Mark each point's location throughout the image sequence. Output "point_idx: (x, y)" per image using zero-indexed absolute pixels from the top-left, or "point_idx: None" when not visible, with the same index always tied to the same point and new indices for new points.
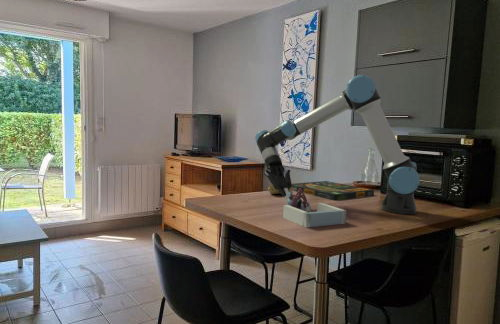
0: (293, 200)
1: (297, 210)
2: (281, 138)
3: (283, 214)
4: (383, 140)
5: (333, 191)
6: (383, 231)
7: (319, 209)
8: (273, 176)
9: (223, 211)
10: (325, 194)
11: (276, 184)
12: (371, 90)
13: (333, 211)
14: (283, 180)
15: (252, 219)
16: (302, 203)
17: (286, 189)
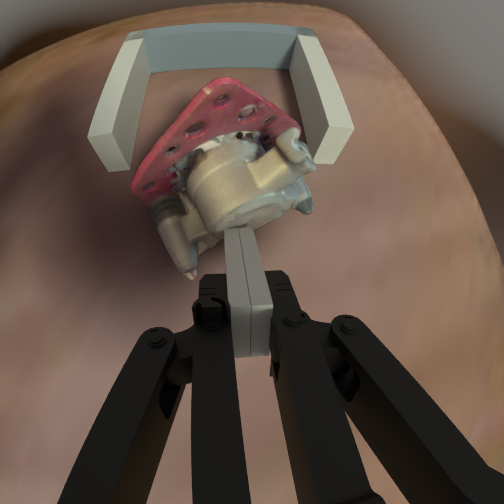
0: (291, 118)
1: (325, 56)
2: None
3: (337, 153)
4: None
5: None
6: (117, 26)
7: (123, 139)
8: (432, 449)
9: (501, 320)
10: None
11: (378, 339)
12: None
13: (186, 26)
14: (240, 428)
15: (445, 185)
16: (180, 179)
17: (250, 291)
